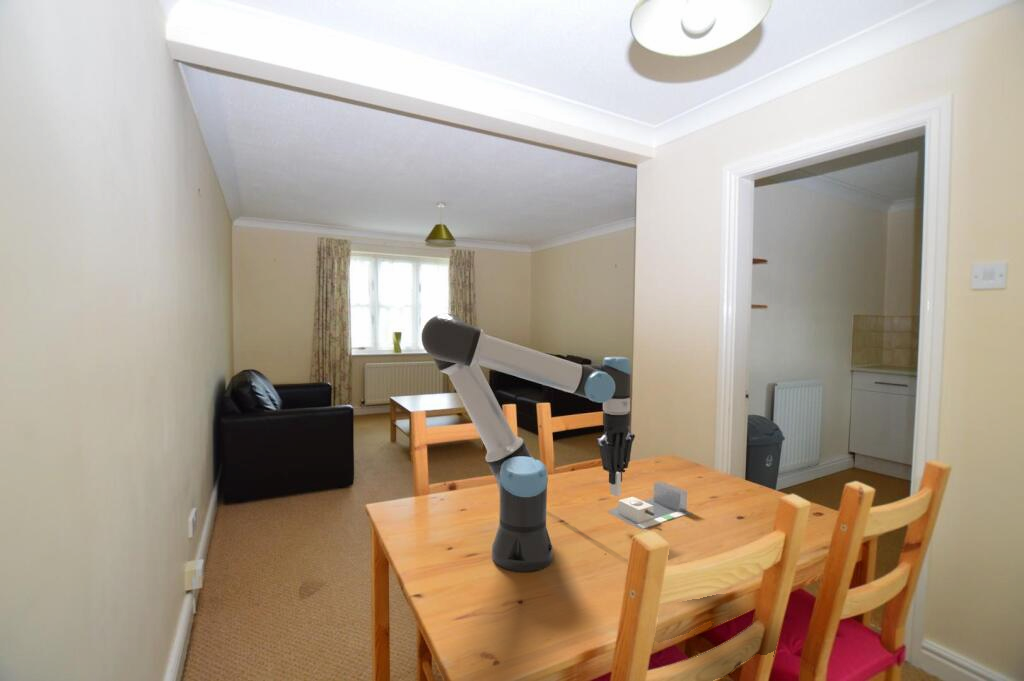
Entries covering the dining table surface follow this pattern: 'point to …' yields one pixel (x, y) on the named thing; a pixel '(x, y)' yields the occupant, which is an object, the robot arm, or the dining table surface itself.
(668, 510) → the gauge board
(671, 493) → the upright metal panel
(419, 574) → the dining table surface
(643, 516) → the gauge carriage
